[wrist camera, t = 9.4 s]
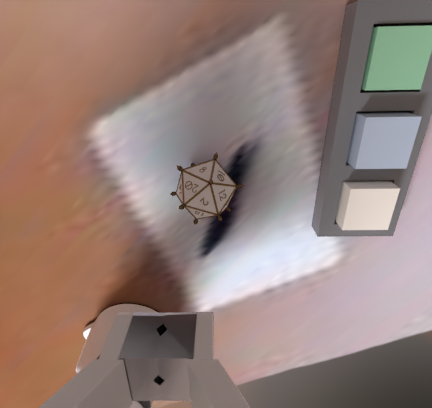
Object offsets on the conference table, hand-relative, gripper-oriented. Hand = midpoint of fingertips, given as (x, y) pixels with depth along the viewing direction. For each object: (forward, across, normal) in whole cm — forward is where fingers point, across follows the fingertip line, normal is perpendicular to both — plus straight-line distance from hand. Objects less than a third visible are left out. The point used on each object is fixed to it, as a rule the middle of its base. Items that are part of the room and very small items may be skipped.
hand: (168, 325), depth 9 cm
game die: (+32, 0, -7) cm, 32 cm away
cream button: (+29, +21, -9) cm, 37 cm away
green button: (+30, +21, +8) cm, 38 cm away
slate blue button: (+29, +21, -1) cm, 36 cm away
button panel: (+31, +21, 0) cm, 37 cm away
